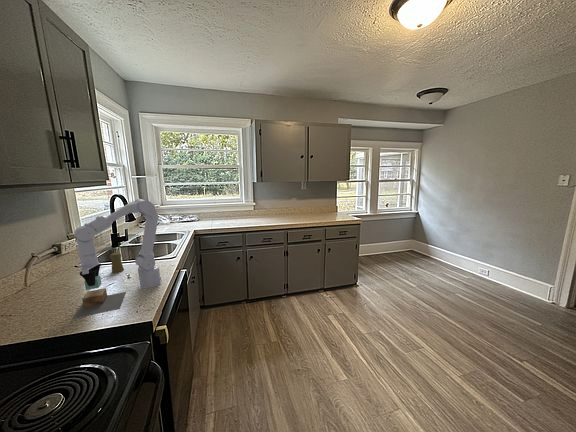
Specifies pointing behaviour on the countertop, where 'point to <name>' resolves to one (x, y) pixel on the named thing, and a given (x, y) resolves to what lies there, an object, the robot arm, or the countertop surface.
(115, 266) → the cork
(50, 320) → the countertop surface
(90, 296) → the walnut block
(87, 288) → the teal block
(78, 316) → the mat
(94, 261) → the robot arm
